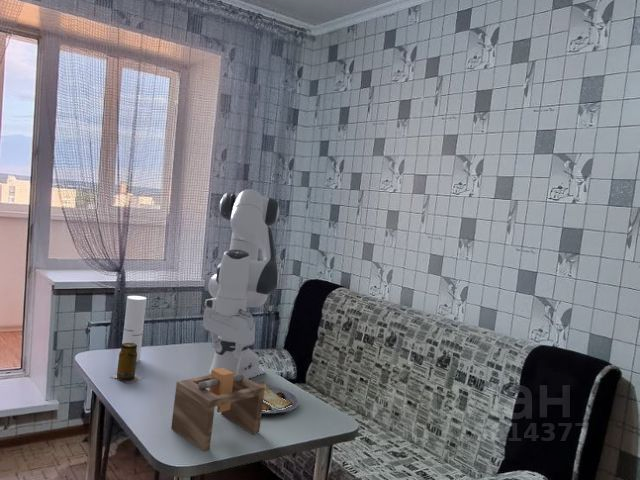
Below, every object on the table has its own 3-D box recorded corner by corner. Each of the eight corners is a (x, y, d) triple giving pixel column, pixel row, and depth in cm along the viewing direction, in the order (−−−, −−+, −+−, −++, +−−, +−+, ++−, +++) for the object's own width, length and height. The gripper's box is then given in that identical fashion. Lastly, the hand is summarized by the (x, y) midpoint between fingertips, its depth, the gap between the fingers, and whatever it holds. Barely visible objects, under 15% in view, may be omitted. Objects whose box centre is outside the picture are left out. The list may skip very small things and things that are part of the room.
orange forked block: (218, 403, 151) (222, 367, 150) (230, 409, 147) (234, 372, 146) (207, 406, 148) (211, 369, 147) (219, 412, 144) (223, 375, 143)
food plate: (214, 392, 176) (216, 382, 176) (270, 386, 190) (272, 377, 190) (249, 424, 156) (251, 413, 156) (309, 414, 171) (310, 404, 170)
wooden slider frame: (226, 413, 161) (232, 364, 160) (259, 432, 150) (265, 381, 149) (171, 428, 146) (177, 374, 145) (203, 451, 135) (210, 393, 134)
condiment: (126, 372, 184) (130, 340, 184) (143, 378, 181) (147, 346, 180) (110, 377, 178) (114, 344, 177) (127, 383, 174) (131, 350, 173)
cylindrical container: (123, 356, 201) (130, 295, 200) (141, 357, 202) (148, 297, 200) (118, 361, 194) (125, 298, 192) (137, 363, 195) (144, 300, 193)
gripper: (262, 313, 141) (257, 361, 142) (218, 297, 154) (213, 341, 156) (245, 315, 136) (239, 364, 137) (201, 299, 150) (196, 344, 151)
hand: (225, 352), depth 147 cm, fingers open, 8 cm apart
